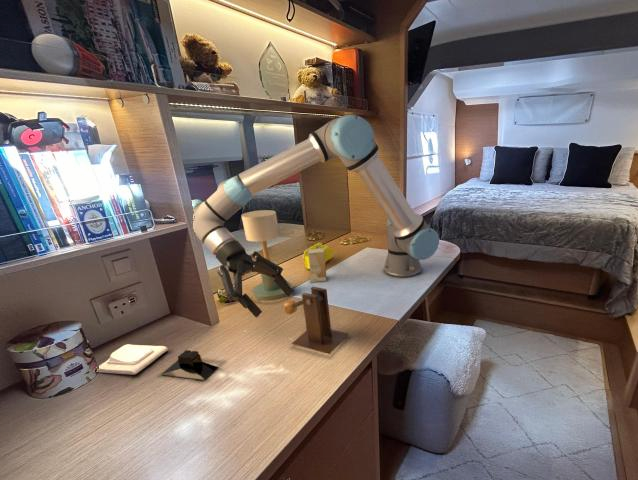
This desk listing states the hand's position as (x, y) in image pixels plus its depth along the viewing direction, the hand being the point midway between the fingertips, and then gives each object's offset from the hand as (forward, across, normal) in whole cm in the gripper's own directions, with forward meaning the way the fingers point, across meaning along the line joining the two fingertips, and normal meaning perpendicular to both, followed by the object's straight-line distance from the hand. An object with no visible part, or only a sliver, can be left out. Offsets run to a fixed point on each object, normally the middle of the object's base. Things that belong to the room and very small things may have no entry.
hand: (276, 303), depth 96 cm
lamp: (-7, -20, -21) cm, 30 cm away
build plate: (0, +22, -14) cm, 26 cm away
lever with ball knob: (+7, 0, +7) cm, 10 cm away
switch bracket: (+17, 0, +3) cm, 17 cm away
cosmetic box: (-1, -38, -16) cm, 41 cm away
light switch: (-13, +26, -27) cm, 40 cm away
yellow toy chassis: (-8, -53, -22) cm, 58 cm away
